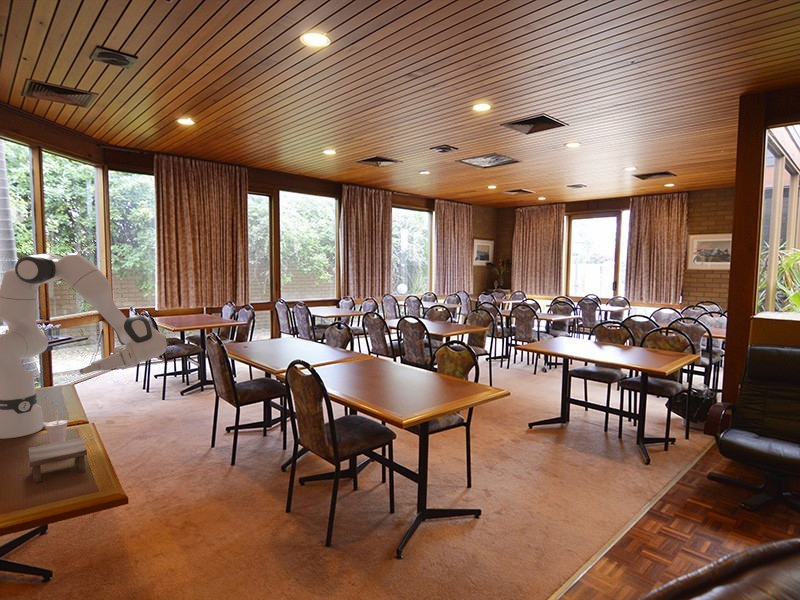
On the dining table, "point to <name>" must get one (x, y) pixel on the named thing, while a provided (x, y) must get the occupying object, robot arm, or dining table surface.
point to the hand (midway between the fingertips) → (81, 371)
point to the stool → (57, 455)
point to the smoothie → (56, 430)
